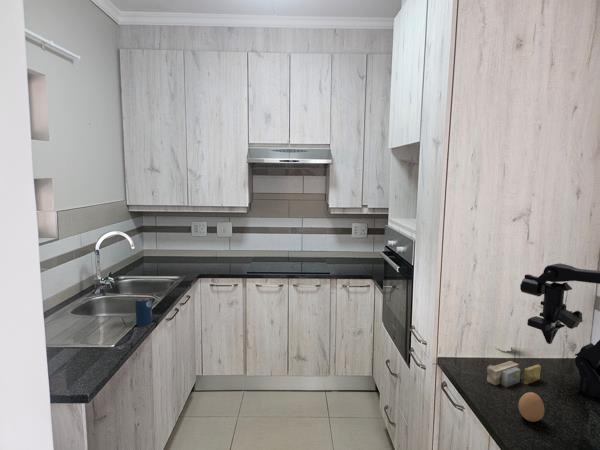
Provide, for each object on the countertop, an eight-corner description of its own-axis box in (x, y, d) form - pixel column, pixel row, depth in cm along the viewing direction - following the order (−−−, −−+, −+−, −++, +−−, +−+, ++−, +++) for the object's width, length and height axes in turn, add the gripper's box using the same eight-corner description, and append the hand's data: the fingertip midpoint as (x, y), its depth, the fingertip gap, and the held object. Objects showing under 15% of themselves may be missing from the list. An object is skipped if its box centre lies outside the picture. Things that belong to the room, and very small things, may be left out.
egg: (520, 424, 114) (523, 397, 113) (515, 411, 120) (517, 385, 119) (546, 428, 112) (549, 401, 111) (539, 415, 119) (541, 389, 118)
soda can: (155, 324, 184) (154, 298, 183) (141, 328, 179) (140, 302, 177) (147, 320, 188) (146, 295, 187) (133, 324, 183) (132, 298, 182)
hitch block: (517, 377, 141) (518, 364, 140) (494, 385, 135) (495, 371, 135) (509, 373, 144) (510, 360, 143) (486, 381, 138) (488, 367, 137)
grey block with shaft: (519, 382, 138) (520, 369, 137) (506, 387, 134) (507, 374, 134) (495, 370, 145) (496, 358, 145) (482, 375, 142) (483, 362, 142)
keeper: (539, 379, 140) (540, 365, 139) (526, 384, 136) (528, 370, 136) (536, 377, 141) (537, 364, 140) (523, 382, 137) (524, 368, 137)
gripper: (562, 311, 127) (558, 358, 129) (593, 302, 136) (588, 347, 138) (528, 301, 137) (524, 345, 139) (559, 294, 146) (555, 335, 148)
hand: (549, 343), depth 141 cm, fingers closed
